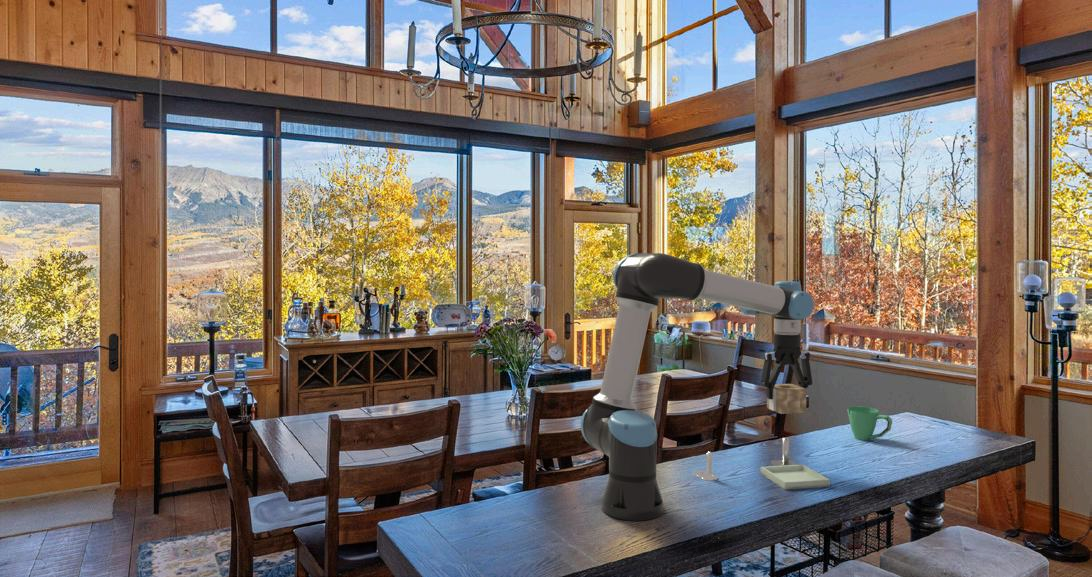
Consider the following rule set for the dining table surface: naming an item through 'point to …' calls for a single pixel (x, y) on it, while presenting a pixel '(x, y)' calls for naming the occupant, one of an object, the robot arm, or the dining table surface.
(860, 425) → the mug
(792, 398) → the bored block
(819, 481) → the tray
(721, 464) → the dining table surface
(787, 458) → the gauge post
